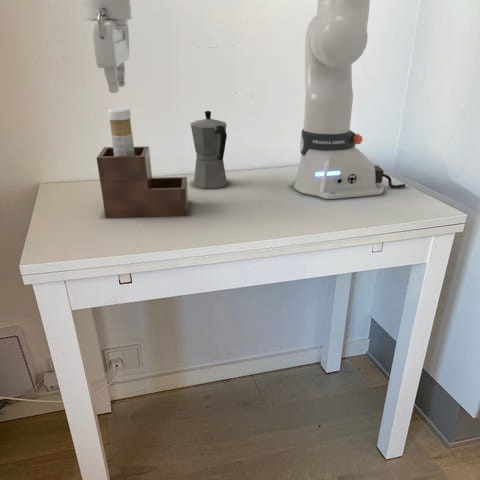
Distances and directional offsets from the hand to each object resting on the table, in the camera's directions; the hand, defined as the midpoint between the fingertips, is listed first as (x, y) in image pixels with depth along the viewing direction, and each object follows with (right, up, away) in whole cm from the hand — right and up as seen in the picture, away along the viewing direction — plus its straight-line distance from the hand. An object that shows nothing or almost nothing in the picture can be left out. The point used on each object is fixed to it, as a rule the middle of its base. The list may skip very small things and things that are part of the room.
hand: (117, 89), depth 101 cm
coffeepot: (+18, -12, +29) cm, 36 cm away
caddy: (+4, -22, +13) cm, 26 cm away
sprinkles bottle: (0, -15, +9) cm, 17 cm away
